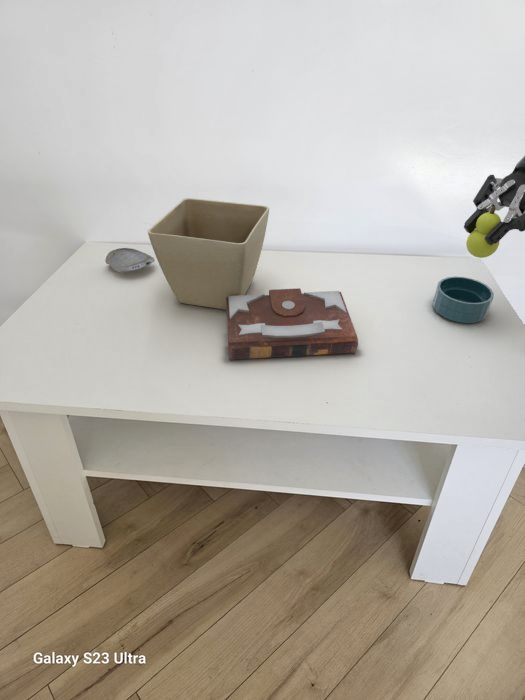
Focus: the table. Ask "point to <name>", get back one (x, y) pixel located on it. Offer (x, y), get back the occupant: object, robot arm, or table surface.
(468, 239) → the pear
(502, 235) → the robot arm
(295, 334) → the book
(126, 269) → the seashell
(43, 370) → the table surface
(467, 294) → the bowl
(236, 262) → the flower pot
